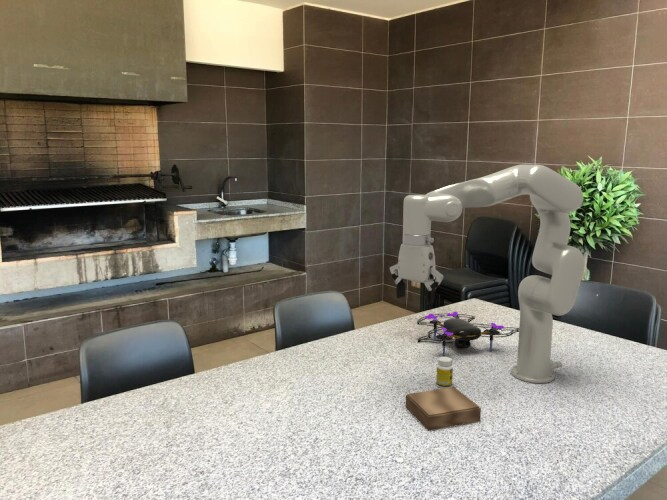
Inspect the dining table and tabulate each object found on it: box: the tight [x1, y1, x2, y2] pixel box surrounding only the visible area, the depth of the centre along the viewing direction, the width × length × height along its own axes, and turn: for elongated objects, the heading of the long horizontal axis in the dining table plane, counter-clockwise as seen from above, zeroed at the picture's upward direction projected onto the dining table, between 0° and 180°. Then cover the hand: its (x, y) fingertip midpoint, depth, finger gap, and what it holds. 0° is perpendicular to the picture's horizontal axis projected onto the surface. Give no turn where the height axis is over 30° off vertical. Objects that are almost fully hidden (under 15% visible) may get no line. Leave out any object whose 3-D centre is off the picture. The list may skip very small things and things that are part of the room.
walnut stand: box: [405, 386, 482, 431], centre depth 138 cm, size 15×13×4 cm
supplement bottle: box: [435, 356, 454, 389], centre depth 155 cm, size 5×5×8 cm
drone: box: [416, 311, 519, 357], centre depth 189 cm, size 40×10×28 cm
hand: (414, 300), depth 147 cm, fingers open, 9 cm apart
